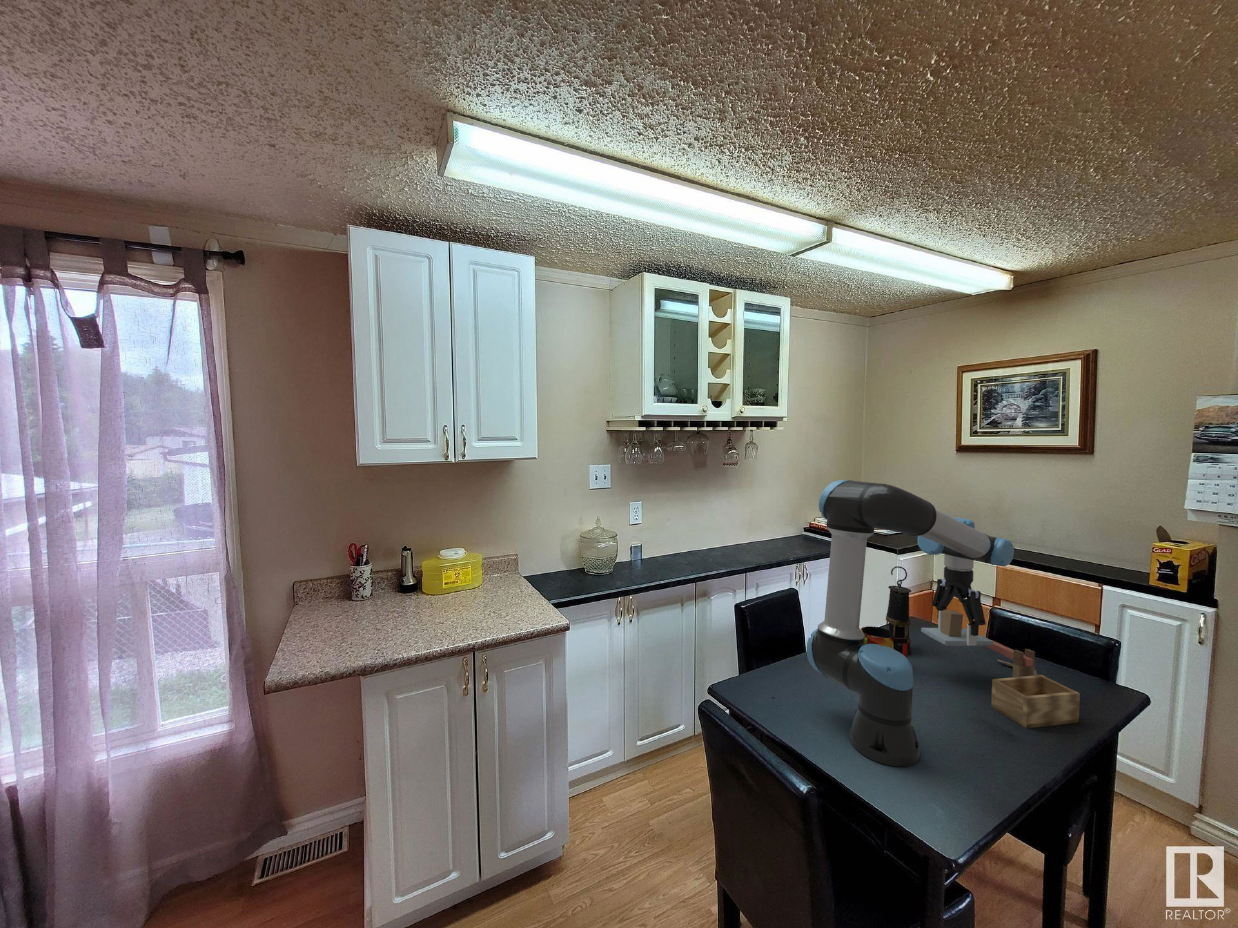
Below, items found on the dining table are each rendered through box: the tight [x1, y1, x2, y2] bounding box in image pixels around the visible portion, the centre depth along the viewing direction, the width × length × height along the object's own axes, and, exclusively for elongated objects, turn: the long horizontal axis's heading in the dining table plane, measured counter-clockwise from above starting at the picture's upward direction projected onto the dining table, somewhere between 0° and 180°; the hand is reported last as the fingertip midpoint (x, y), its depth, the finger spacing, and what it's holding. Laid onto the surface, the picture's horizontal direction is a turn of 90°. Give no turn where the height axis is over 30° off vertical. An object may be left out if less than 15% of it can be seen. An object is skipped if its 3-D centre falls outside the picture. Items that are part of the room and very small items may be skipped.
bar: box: [985, 639, 1033, 666], centre depth 145 cm, size 2×13×2 cm, turn 8°
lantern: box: [885, 565, 912, 656], centre depth 171 cm, size 9×9×30 cm
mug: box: [860, 625, 908, 659], centre depth 159 cm, size 10×14×12 cm
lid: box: [920, 609, 994, 647], centre depth 150 cm, size 16×10×9 cm, turn 96°
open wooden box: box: [990, 674, 1081, 729], centre depth 131 cm, size 16×10×8 cm, turn 98°
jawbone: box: [997, 659, 1039, 676], centre depth 150 cm, size 9×20×2 cm, turn 170°
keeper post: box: [1011, 648, 1036, 678], centre depth 141 cm, size 5×2×13 cm, turn 98°
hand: (956, 637), depth 151 cm, fingers closed on lid, 10 cm apart
